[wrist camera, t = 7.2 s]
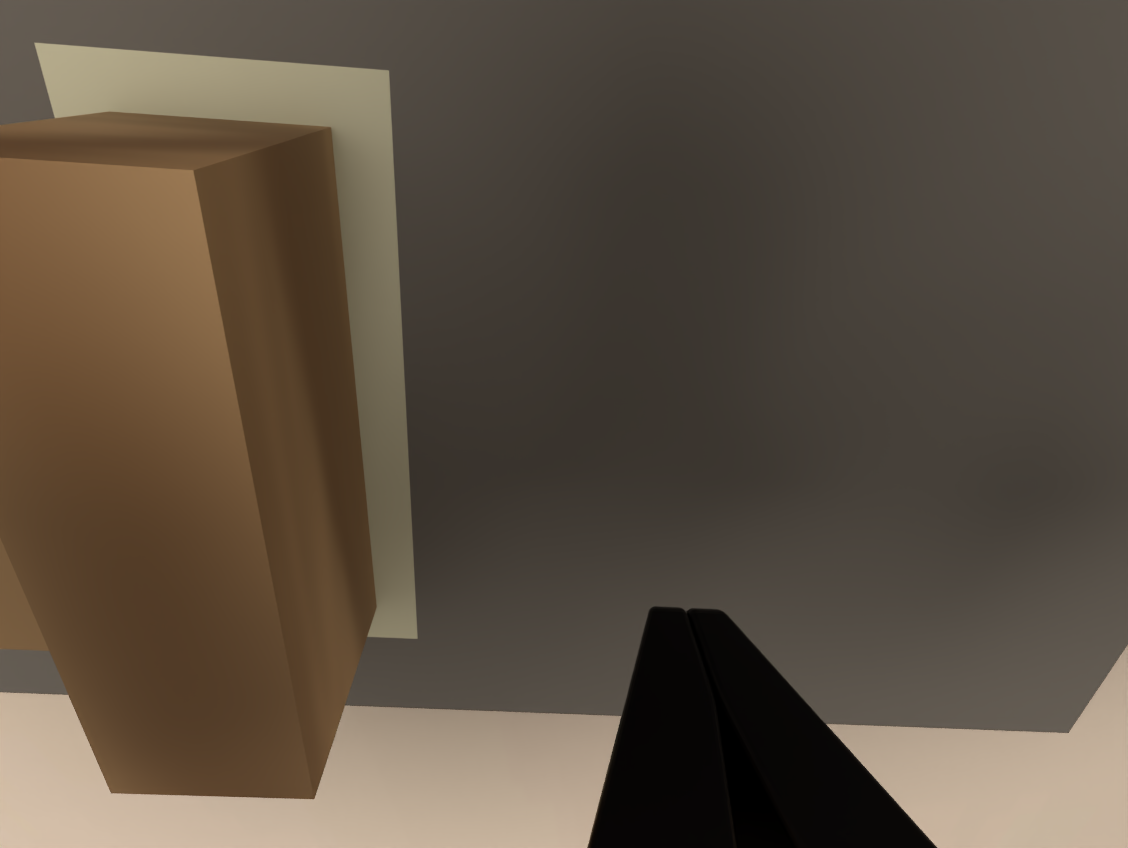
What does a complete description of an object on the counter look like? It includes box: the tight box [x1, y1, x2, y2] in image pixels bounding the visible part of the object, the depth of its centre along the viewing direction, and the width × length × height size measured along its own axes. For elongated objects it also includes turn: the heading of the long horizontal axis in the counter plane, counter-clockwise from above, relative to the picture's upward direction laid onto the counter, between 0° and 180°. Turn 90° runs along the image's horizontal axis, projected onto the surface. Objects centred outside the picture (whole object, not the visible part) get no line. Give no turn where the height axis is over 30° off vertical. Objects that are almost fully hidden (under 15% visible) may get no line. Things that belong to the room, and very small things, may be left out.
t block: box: [0, 111, 377, 799], centre depth 9 cm, size 9×9×4 cm
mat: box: [0, 0, 1128, 733], centre depth 11 cm, size 26×19×1 cm
